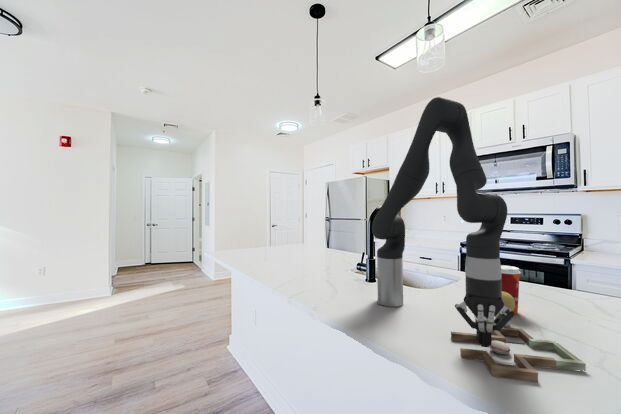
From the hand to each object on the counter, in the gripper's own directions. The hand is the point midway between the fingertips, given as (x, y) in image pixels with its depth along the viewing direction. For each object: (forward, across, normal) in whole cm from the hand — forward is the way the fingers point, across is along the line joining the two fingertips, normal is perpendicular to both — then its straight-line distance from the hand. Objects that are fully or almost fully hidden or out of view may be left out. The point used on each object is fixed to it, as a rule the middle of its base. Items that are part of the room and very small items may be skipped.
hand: (484, 345), depth 67 cm
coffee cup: (+1, +16, +31) cm, 35 cm away
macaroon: (+2, +4, +1) cm, 4 cm away
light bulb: (+2, +11, +18) cm, 21 cm away
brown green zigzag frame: (+1, +5, 0) cm, 5 cm away
